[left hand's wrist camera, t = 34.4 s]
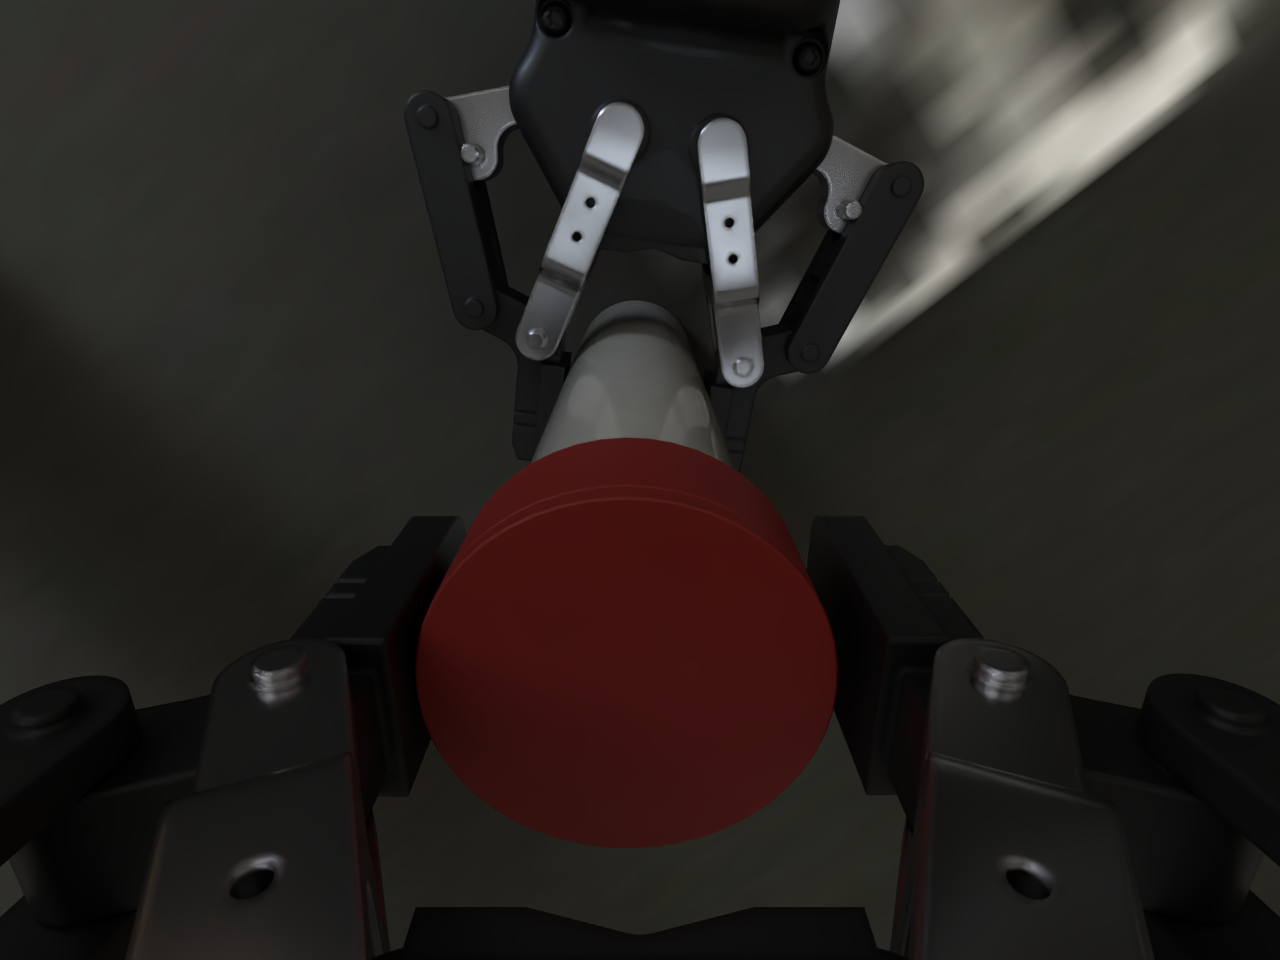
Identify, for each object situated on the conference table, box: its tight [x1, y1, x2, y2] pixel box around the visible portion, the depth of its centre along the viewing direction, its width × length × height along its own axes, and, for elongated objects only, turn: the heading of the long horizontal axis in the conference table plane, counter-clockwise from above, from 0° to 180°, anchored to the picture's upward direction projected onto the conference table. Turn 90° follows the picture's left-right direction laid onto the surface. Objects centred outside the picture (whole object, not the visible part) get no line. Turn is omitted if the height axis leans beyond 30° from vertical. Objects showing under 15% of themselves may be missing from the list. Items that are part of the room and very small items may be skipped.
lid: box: [415, 437, 838, 848], centre depth 10 cm, size 5×5×2 cm
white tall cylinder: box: [530, 300, 735, 470], centre depth 19 cm, size 4×4×19 cm
